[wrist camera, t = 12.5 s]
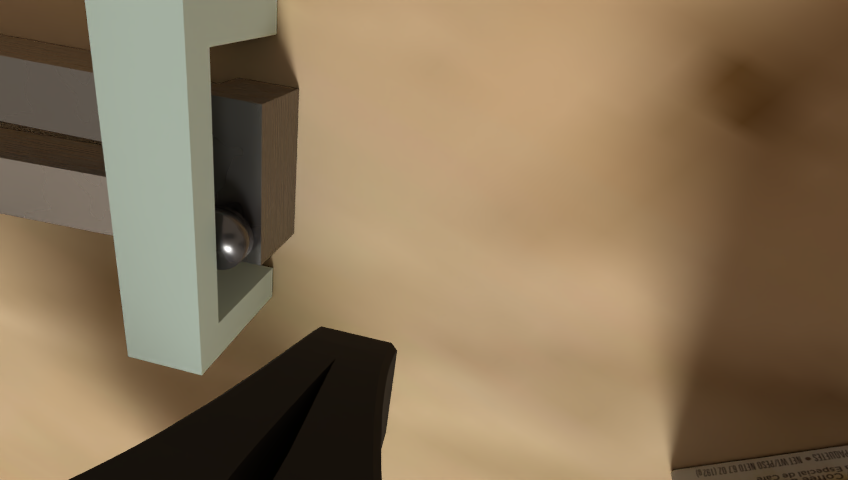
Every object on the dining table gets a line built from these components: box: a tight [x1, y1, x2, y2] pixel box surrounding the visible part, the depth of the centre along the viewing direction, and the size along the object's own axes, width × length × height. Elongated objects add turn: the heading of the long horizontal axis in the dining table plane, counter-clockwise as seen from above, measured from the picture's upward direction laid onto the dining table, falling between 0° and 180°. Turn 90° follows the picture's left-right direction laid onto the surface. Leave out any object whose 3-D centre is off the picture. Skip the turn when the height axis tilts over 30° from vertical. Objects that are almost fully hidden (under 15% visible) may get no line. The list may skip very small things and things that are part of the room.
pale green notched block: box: [85, 0, 277, 375], centre depth 17 cm, size 10×2×5 cm, turn 172°
